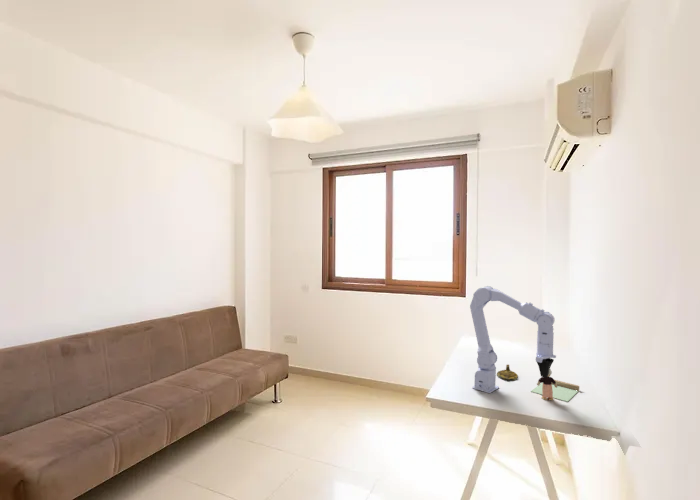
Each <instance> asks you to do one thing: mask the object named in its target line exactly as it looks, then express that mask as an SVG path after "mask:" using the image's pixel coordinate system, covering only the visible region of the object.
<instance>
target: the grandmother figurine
mask: <svg viewBox="0 0 700 500" xmlns="http://www.w3.org/2000/svg"><path fill="white" fill-rule="evenodd" d="M552 373H553V372H552V370H551V368H550V370H549V374H548V377H547V378H546V377H542V376H540V378H539V379H538V380H537V383H536V386H539V385H540V384H541V383H543V387H542V395H541V399H542V400H544V401H548V400H549V401H554V398H553V391H552V383H553V384H554V385H555V387H556V388H557V387H558V386H557V384H556V382H555V380H556V379H554V378H553V377H551V375H552Z"/></svg>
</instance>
